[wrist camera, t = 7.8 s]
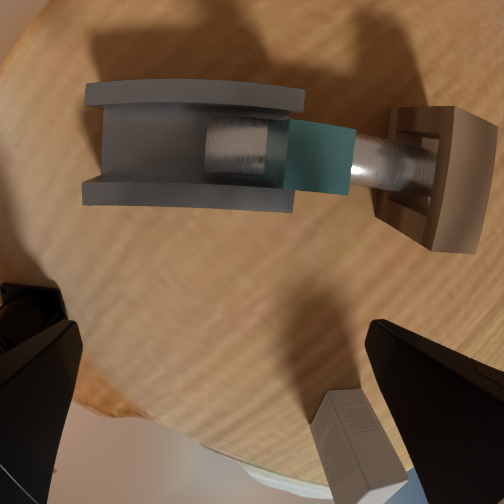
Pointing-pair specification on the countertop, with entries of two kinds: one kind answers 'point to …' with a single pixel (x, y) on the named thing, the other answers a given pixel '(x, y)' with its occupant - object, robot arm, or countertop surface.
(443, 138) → the socket block
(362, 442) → the skincare box
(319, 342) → the countertop surface
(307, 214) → the countertop surface
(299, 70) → the countertop surface
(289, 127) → the rod
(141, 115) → the channel
